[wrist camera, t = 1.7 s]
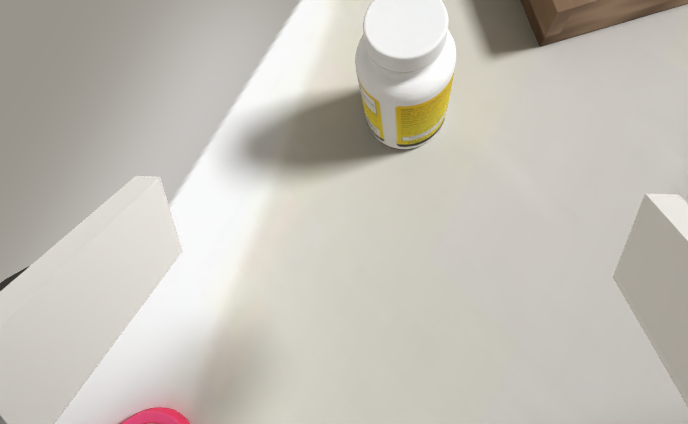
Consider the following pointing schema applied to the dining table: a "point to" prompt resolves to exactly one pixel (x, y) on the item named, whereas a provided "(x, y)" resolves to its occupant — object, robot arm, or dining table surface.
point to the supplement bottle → (405, 70)
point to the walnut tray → (586, 15)
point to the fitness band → (157, 417)
